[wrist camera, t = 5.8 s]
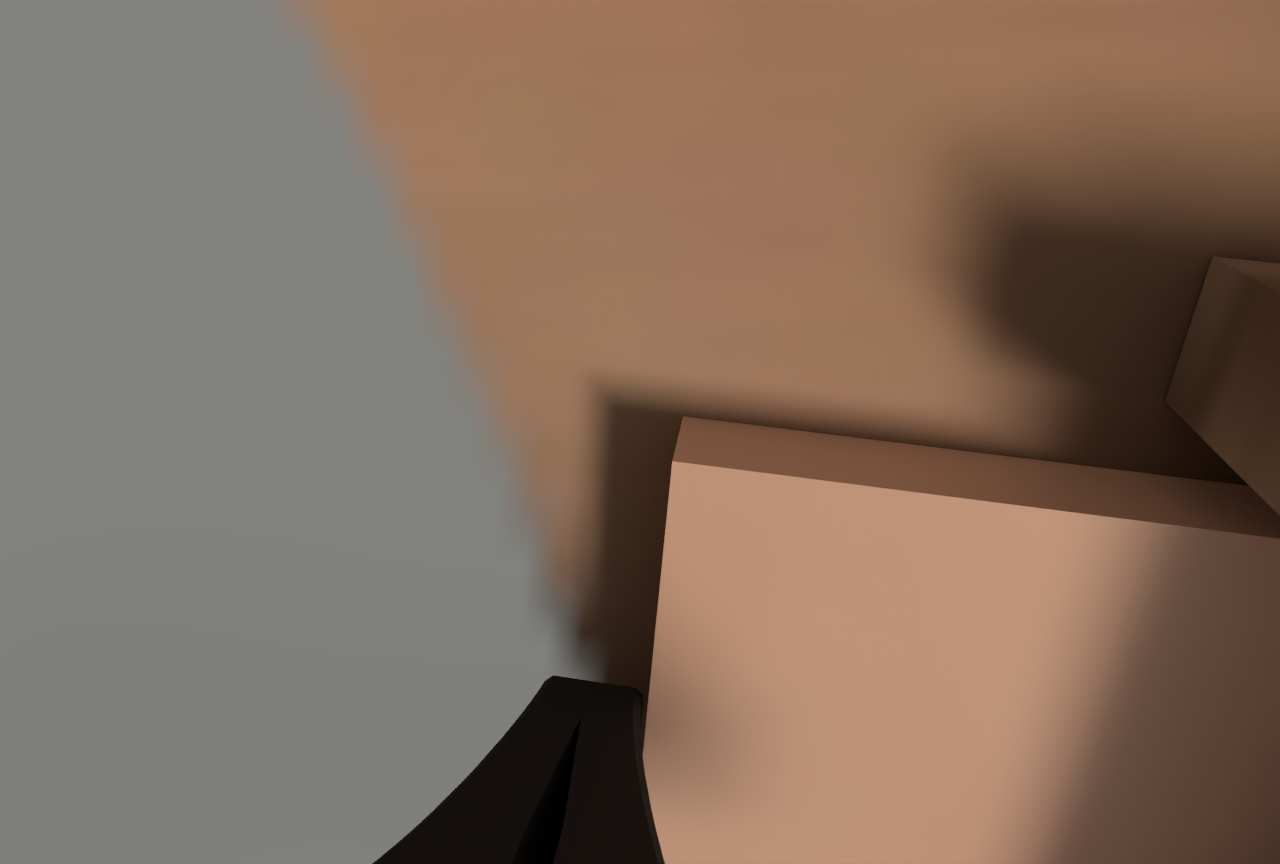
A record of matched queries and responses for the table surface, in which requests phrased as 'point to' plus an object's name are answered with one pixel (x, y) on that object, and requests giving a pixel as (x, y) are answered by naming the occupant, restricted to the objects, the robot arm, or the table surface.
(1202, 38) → the table surface
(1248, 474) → the dock
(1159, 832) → the tile
